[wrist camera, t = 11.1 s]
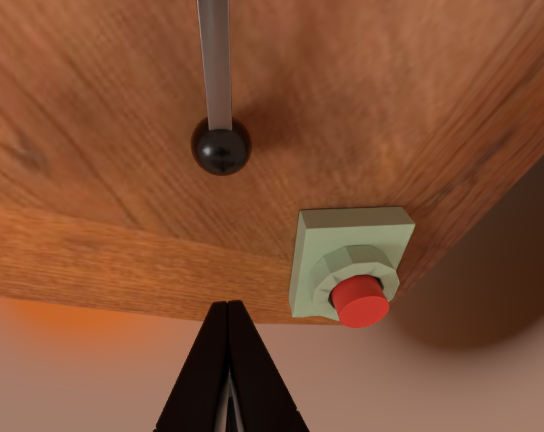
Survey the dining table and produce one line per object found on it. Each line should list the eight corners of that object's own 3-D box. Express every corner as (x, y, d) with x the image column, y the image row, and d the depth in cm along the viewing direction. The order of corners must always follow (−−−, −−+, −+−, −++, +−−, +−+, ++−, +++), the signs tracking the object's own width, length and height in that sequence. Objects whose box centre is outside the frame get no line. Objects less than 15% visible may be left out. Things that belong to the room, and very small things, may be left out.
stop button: (371, 303, 24) (381, 325, 23) (327, 306, 24) (335, 330, 22) (383, 271, 22) (396, 294, 20) (335, 275, 22) (344, 298, 20)
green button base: (369, 291, 29) (387, 328, 26) (288, 297, 28) (296, 336, 25) (401, 206, 23) (429, 240, 20) (299, 209, 22) (312, 247, 19)
